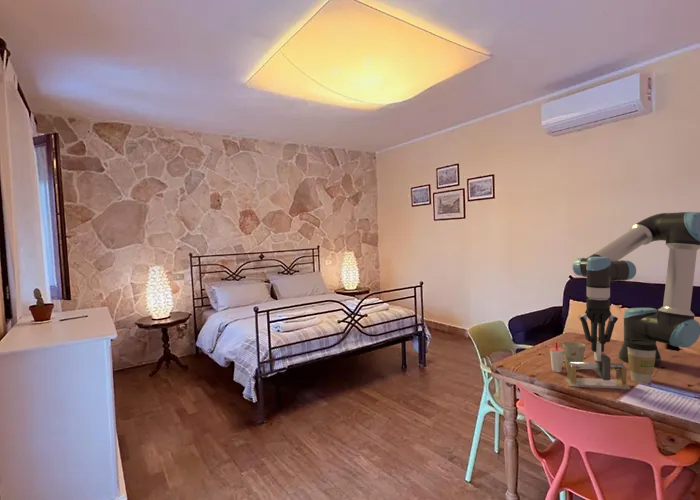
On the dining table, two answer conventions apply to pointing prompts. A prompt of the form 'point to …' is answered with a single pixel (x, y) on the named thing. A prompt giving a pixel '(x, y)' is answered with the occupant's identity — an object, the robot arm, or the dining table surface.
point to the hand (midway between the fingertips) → (597, 359)
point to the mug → (573, 352)
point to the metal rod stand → (597, 383)
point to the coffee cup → (641, 359)
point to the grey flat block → (604, 367)
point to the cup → (556, 358)
